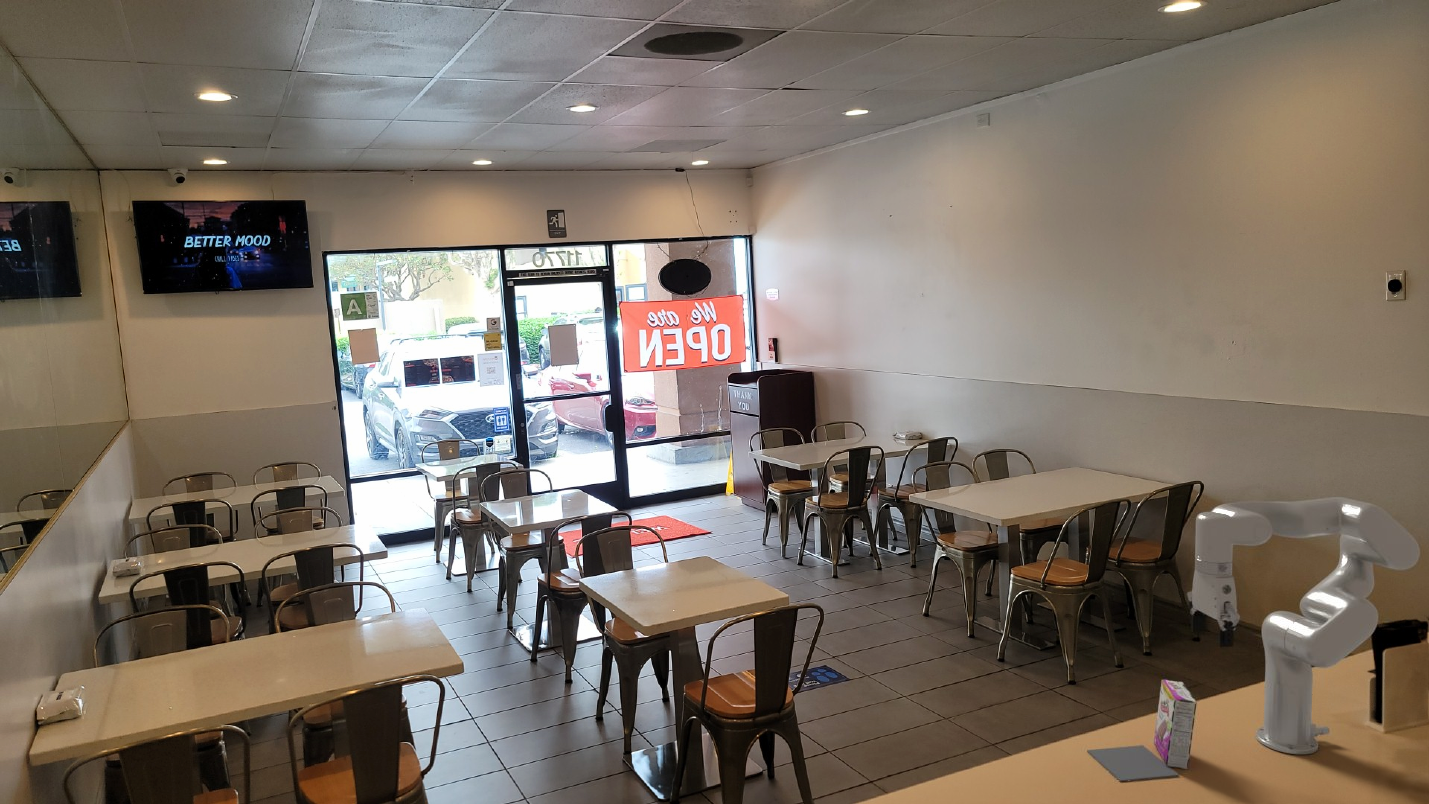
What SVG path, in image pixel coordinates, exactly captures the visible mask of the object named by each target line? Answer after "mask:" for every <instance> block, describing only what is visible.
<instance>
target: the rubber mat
mask: <svg viewBox="0 0 1429 804" xmlns="http://www.w3.org/2000/svg"><path fill="white" fill-rule="evenodd" d="M1086 752H1087V753H1088V754H1089V755H1090V756H1091V757H1092V758H1093V757H1094V758H1093V759H1094V760H1095V761H1097V763H1099V765H1101V766H1102V767H1103V768H1104V769H1105V770H1106V769H1107V770H1108V771H1109V772H1108V771H1107V770H1106V771H1107V772H1108V773H1110V774H1111V775H1112V776H1113V777H1114V778H1115V779H1116V778H1117V779H1116V780H1117V781H1118V780H1119V781H1121V782H1120V783H1122V781H1124V782H1133V781H1134V780H1135V781H1144V780H1153V779H1164V778H1165V779H1166V778H1175V777H1180V775H1179V773H1177V771H1175V770H1174V769H1172V767H1168V766H1166V764H1165V763H1164V761H1163V759H1160V757H1158V756H1156V755H1155V754H1154V753H1153V752H1152V751H1150V749H1148V748H1147V747H1146V746H1144V745H1142V744H1141V745H1131V746H1130V745H1129V746H1119V747H1117V746H1116V747H1108V748H1107V747H1106V748H1098V749H1087V751H1086ZM1128 780H1130V781H1128ZM1119 781H1118V782H1119Z"/></svg>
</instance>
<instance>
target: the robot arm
mask: <svg viewBox="0 0 1429 804" xmlns="http://www.w3.org/2000/svg"><path fill="white" fill-rule="evenodd" d="M1272 535H1275V536H1279V537H1284V538H1293V539H1306V538H1312V537H1313V538H1314V537H1315V538H1316V537H1322V536H1331V535H1340V538H1339V560H1338V564H1337V566H1336V567H1335V568H1334V570H1333V571H1332V572H1330V573H1329V575H1327V576H1326V577H1325V578H1323V579H1322V580H1321V581H1319V583H1317V584H1316V585H1315V586H1313V587H1312V588H1311V589H1310V590H1308V592H1307V593H1305V594H1304V595H1303V597H1302V598H1301V599H1300V602H1299V610H1300V612H1301V614H1302V615H1303V616H1302V615H1299V614H1297V613H1295V612H1292V611H1285V610H1276V611H1273V612H1271V613H1269V614H1268V615H1267V616H1266V617H1265V618H1264V620H1263V622H1262V624H1261V638H1262V643H1263V648H1264V657H1265V658H1264V659H1265V669H1264V670H1265V672H1264V673H1265V674H1264V675H1265V676H1264V702H1263V703H1264V704H1263V705H1264V706H1263V726H1261V727H1260V728H1258V729H1257V730H1256V731H1255V737H1256V740H1257V741H1258V742H1259V743H1260V744H1262V745H1263V746H1265V747H1267V748H1269V749H1272V750H1274V751H1277V752H1281V753H1285V754H1292V755H1310V754H1314V753H1315V752H1316V753H1317V751H1318V750H1319V742H1318V740H1317V739H1316V737H1318V736H1319V735H1320V736H1322V735H1329V734H1330V728H1329V727H1328V726H1327V725H1322V726H1321V725H1320V726H1317V725H1316V723H1314V722H1312V708H1313V707H1312V706H1313V685H1314V684H1313V683H1314V682H1313V681H1314V679H1313V677H1314V674H1313V668H1312V666H1313V667H1315V668H1320V669H1326V668H1331V667H1333V666H1335V665H1336V664H1338V663H1340V662H1341V661H1342V660H1344V659H1345V658H1346V657H1347V656H1348V655H1350V653H1352V652H1353V651H1355V649H1357V648H1358V647H1360V646H1361V644H1363V643H1365V641H1366V640H1368V639H1369V638H1370V637H1371V636H1372V635H1373V633H1374V632H1375V630H1376V628H1377V626H1378V622H1379V612H1378V609H1377V608H1376V606H1375V605H1374V604H1373V603H1372V602H1371V601H1370V600H1368V599H1366V598H1367V597H1368V596H1370V595H1371V593H1372V591H1373V590H1374V587H1375V576H1374V575H1375V574H1374V566H1373V565H1374V564H1375V565H1378V566H1382V567H1383V568H1388V569H1391V570H1397V571H1405V570H1408V569H1411V568H1412V567H1414V566H1415V565H1416V564H1417V563H1418V561H1419V559H1420V555H1421V550H1420V549H1421V548H1420V545H1419V544H1418V541H1417V540H1416V539H1415V537H1414V536H1413V535H1412V534H1411V533H1409V531H1407V529H1405V527H1404V526H1403V525H1401V524H1400V523H1399V522H1398V521H1397V520H1396V519H1395V518H1394V517H1392V516H1391V515H1390V514H1389V513H1388V512H1387V511H1386V510H1384V509H1383V508H1381V507H1380V506H1378V505H1376V504H1374V503H1369V502H1366V501H1361V500H1356V499H1353V498H1348V497H1342V496H1341V497H1340V496H1335V497H1324V498H1317V499H1316V498H1315V499H1306V500H1298V501H1256V500H1255V501H1238V502H1236V501H1235V502H1229V503H1223V504H1220V505H1217V506H1215V507H1214V508H1213V509H1212V510H1210V511H1204V512H1200V513H1199V514H1197V516H1196V518H1195V541H1194V542H1195V543H1194V544H1195V547H1194V549H1195V550H1194V551H1195V552H1194V555H1195V556H1194V572H1193V580H1192V588H1191V590H1190V591H1188V592H1187V593H1186V594H1187V595H1186V596H1187V598H1188V606H1189V607H1190V612H1189V613H1190V615H1191V632H1193V633H1200V632H1206V631H1207V616H1208V617H1210V618H1212V619H1214V620H1217V622H1218V625H1219V628H1220V629H1219V628H1218V638H1217V639H1218V640H1217V641H1218V647H1219V648H1230V647H1233V646H1234V631H1236V628H1237V627H1238V625H1239V621H1240V619H1241V615H1240V614H1239V613H1238V607H1237V605H1238V604H1237V603H1238V601H1237V591H1236V582H1235V578H1234V576H1233V557H1234V556H1233V554H1234V553H1233V552H1234V551H1233V550H1234V548H1233V547H1234V546H1236V545H1237V546H1249V547H1250V546H1251V547H1253V546H1259V545H1260V546H1261V545H1262V544H1263V545H1264V544H1265V543H1267V542H1268V541H1269V540H1270V539H1271V537H1272ZM1225 621H1227V622H1226V623H1225Z"/></svg>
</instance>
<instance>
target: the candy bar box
mask: <svg viewBox="0 0 1429 804" xmlns="http://www.w3.org/2000/svg"><path fill="white" fill-rule="evenodd" d="M1197 703H1198V702H1197V701H1196V699H1195V698H1194V697H1193V695H1192V693H1191V692H1190V691H1189V689H1188V688H1187V687H1186V685H1185V684H1184V682H1183V681H1177V680H1176V681H1175V680H1171V679H1170V680H1169V679H1161V684H1160V691H1159V700H1158V707H1157V717H1156V724H1155V730H1154V739H1153V745H1154V746H1155V749H1156V750H1157V751H1158V753H1159V755H1160V757H1161V760H1162V761H1163V762H1164V763H1165V764H1166V766H1168V767H1170V768H1175V769H1182V770H1189V764H1190V762H1189V761H1190V757H1191V756H1190V755H1191V748H1192V739H1193V733H1194V726H1195V725H1194V724H1195V718H1196V709H1197Z"/></svg>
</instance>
